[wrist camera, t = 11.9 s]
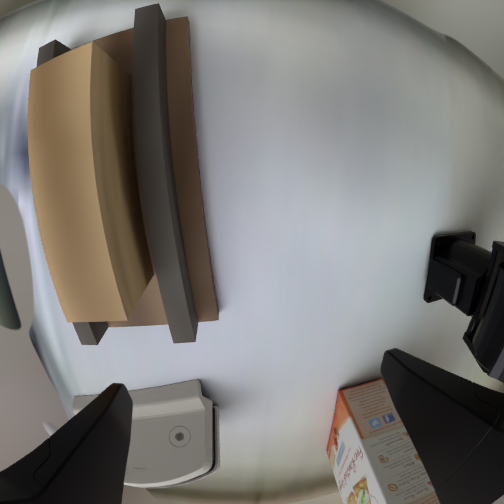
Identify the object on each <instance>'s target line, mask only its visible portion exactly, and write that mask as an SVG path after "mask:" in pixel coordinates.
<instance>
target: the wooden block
mask: <svg viewBox="0 0 504 504" xmlns="http://www.w3.org/2000/svg"><path fill="white" fill-rule="evenodd" d="M28 150H29V165H30V175H31V184H32V192H33V199H34V205H35V211H36V217H37V222H38V227H39V232H40V236H41V241H42V245H43V249H44V253H45V257H46V261H47V264H48V268H49V271H50V274H51V278H52V281H53V284H54V287H55V290H56V293H57V296H58V299H59V302H60V305H61V307H62V310H63V313H64V315H65V318H66V321H67V322H104V321H128V319H129V317H130V315H131V313H132V312H133V310H134V308H135V306H136V305H137V303H138V301H139V299H140V298H141V296H142V294H143V293H144V291H145V289H146V288H147V286H148V284H149V282H150V281H151V279H152V277H153V276H154V273H153V269H152V264H151V259H150V255H149V250H148V245H147V239H146V234H145V228H144V223H143V217H142V210H141V204H140V197H139V190H138V183H137V175H136V166H135V157H134V146H133V135H132V120H131V100H130V74H129V73H128V72H127V71H126V70H125V69H124V68H123V67H121V66H120V65H119V64H118V63H117V62H116V61H115V60H113V59H112V58H111V57H110V56H109V55H108V54H107V53H105V52H104V51H103V50H102V49H101V48H100V47H98V46H97V45H96V44H95V43H94V42H90V43H87V44H85V45H82V46H80V47H78V48H75V49H73V50H71V51H68V52H66V53H64V54H62V55H60V56H58V57H55V58H53V59H51V60H49V61H47V62H45V63H44V64H42V65H40V66H38V67H36V68H34V69H32V70H31V74H30V84H29V98H28Z"/></svg>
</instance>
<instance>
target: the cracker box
mask: <svg viewBox="0 0 504 504" xmlns="http://www.w3.org/2000/svg"><path fill="white" fill-rule="evenodd" d="M327 454H328V457H329V460H330V463H331V466H332V469H333V473H334V476H335V479H336V482H337V485H338V488H339V492H340V494H341V498H342V501H343V504H440V502H439V500H438V497H437V495H436V493H435V490H434V488H433V486H432V483H431V481H430V479H429V477H428V474H427V472H426V470H425V468H424V466H423V464H422V462H421V459H420V457H419V455H418V453H417V451H416V449H415V447H414V445H413V443H412V441H411V439H410V437H409V435H408V433H407V431H406V429H405V427H404V425H403V423H402V421H401V419H400V417H399V415H398V413H397V411H396V409H395V407H394V405H393V402H392V400H391V397H390V395H389V392H388V389H387V387H386V384H385V382H384V379H383V378H381V379H378V380H375V381H372V382H368V383H365V384H361V385H358V386H354V387H350V388H346V389H342V390H339V391H338V396H337V402H336V408H335V413H334V419H333V424H332V429H331V433H330V438H329V442H328V447H327Z"/></svg>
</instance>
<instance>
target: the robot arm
mask: <svg viewBox="0 0 504 504" xmlns="http://www.w3.org/2000/svg"><path fill="white" fill-rule="evenodd" d="M475 239H476V234H475V232H472V231H469V232H461V233H453V234H445V235H437V236H434V237H433V239H432V244H431V253H430V261H429V269H428V276H427V282H426V288H425V293H424V301H426V302H427V303H430V302H433V301H437V300H440V299H444V300H445V301H447V302H448V303H449V304H451V305H452V306H455V307H456V308H458V309H459V310H460V311H462V312H463V313H464V314H466V315H467V316H471V317H472V318H471V321H470V323H469V326H468V328H467V331H466V332H465V333H464V336H463V340H464V341H465V343H466V344H467V346H468V348H469V349H470V351H471V352H472V354H473V356H474V357H475V359H476V361H477V363H478V364H479V366H480V367H481V369H482V370H483V372H485V373H487V375H488V376H490V377H493V378H495V379H498V380H499V381H501V382H503V383H504V242H500V241H493V245H492V248H493V249H492V252H490V251H488V250H486V249H483V248H481V247H479V246H477V245H475ZM436 242H437V243H436ZM428 297H429V298H428ZM381 374H382V377H383V379H384V382H385V384H386V387H387V389H388V392H389V395H390V397H391V400H392V402H393V405H394V407H395V409H396V411H397V413H398V415H399V417H400V419H401V421H402V423H403V425H404V427H405V429H406V431H407V433H408V435H409V437H410V439H411V441H412V443H413V445H414V447H415V449H416V451H417V453H418V455H419V457H420V459H421V462H422V464H423V466H424V468H425V470H426V472H427V474H428V477H429V479H430V481H431V483H432V486H433V488H434V490H435V493H436V495H437V497H438V500H439V502H440V504H504V393H501V392H497V391H494V390H491V389H489V388H486V387H484V386H481V385H479V384H476V383H474V382H473V383H472V382H471V381H469V380H467V379H464V378H462V377H460V376H457V375H455V374H453V373H451V372H448V371H446V370H444V369H441V368H439V367H437V366H435V365H432V364H430V363H428V362H426V361H423V360H421V359H419V358H417V357H415V356H412V355H410V354H408V353H406V352H404V351H401V350H399V349H397V348H393V349H390V350H387V351H385V353H384V356H383V361H382V365H381ZM132 412H133V401H132V398H131V396H130V394H129V392H128V390H127V388H126V387H125V385H124V384H122V383H113V384H111V385H110V386H109V387H108V388H106V389H105V390H104V391H103V392H102V393H101V394H99V395H98V396H97V397H96V398H95V399H94V400H92V401H91V402H90V403H89V404H88V405H87V406H85V407H84V408H83V409H82V410H81V411H80V412H78V413H77V414H76V415H75V416H74V417H73V418H71V419H70V420H69V421H68V422H67V423H66V424H64V425H63V426H62V427H61V428H60V429H59V430H57V431H56V432H55V433H54V434H53V435H51V436H50V438H48V439H47V440H45V441H44V442H43V443H42V444H41V445H39V446H38V447H37V448H36V449H34V450H33V451H32V452H30V453H29V454H27V455H26V456H25V457H23V458H22V459H20V460H19V461H17V462H16V463H14V464H13V465H11V466H9V467H8V468H6V469H5V470H3V471H1V472H0V504H121V502H122V494H123V486H124V478H125V471H126V465H127V459H128V453H129V447H130V440H131V425H132Z"/></svg>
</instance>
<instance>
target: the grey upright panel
mask: <svg viewBox="0 0 504 504" xmlns="http://www.w3.org/2000/svg"><path fill="white" fill-rule="evenodd" d="M128 392H129V394H130V396H131V398H132V401H133V412H132V425H131V440H130V447H129V453H128V459H127V465H126V471H125V478H124V484H125V485H130V486H135V487H142V488H166V487H173V486H179V485H183V484H187V483H190V482H194V481H196V480H199V479H202V478H204V477H207V476H209V475H211V474H213V473H215V472H216V471H217V470H218V469H219V467H220V444H219V408H218V406H212V401H211V400H209V399H207V398H206V397H204V396H202V392H201V383H200V381H199V380H198V379H196V380H192V381H187V382H182V383H176V384H171V385H166V386H160V387H154V388H147V389H141V390H134V391H128ZM97 396H98V395H87V396H74V401H73V412H74V414H75V415H76V414H77V413H78V412H80V411H81V410H82V409H83V408H84V407H85V406H87V405H88V404H89V403H90V402H91V401H92V400H94V399H95V398H96V397H97Z"/></svg>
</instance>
